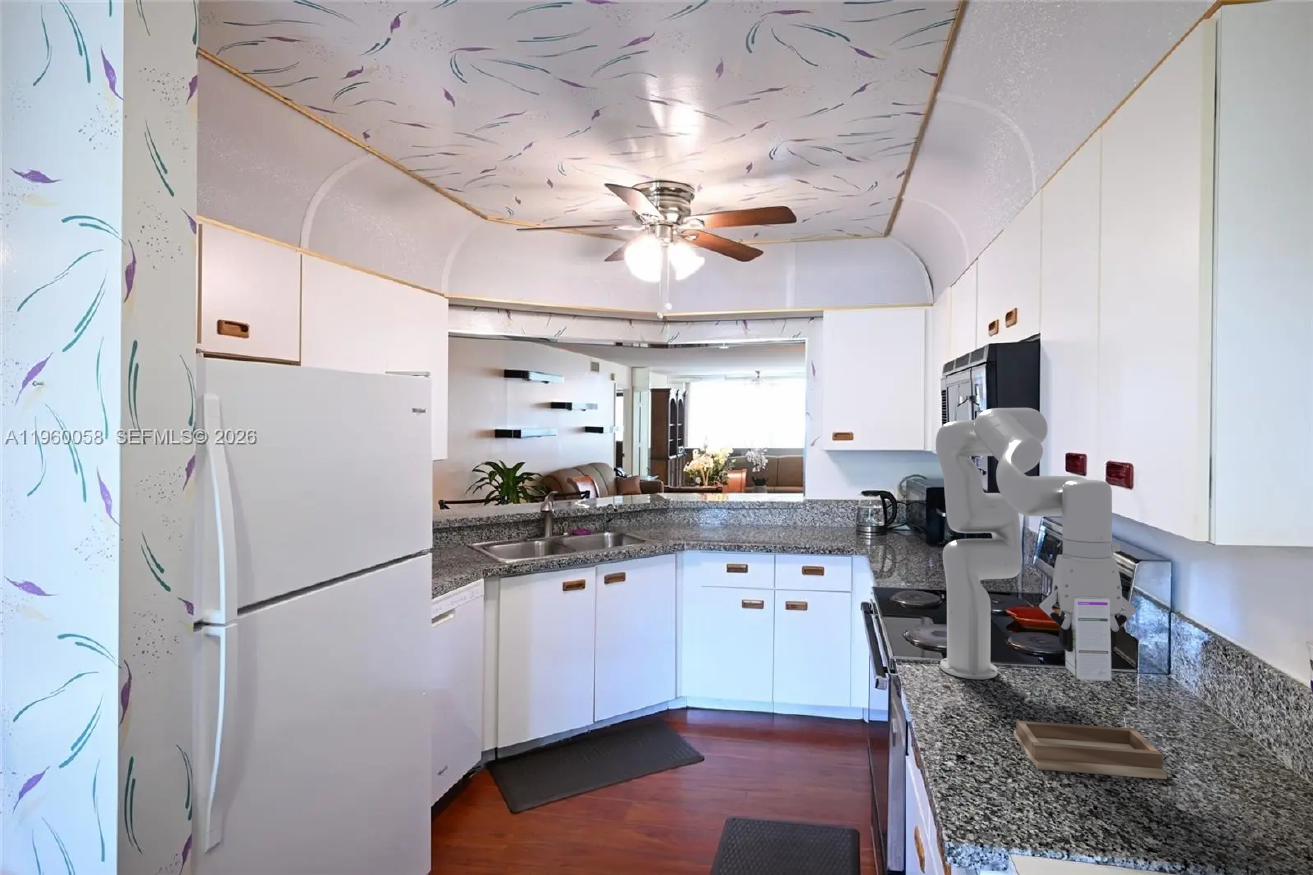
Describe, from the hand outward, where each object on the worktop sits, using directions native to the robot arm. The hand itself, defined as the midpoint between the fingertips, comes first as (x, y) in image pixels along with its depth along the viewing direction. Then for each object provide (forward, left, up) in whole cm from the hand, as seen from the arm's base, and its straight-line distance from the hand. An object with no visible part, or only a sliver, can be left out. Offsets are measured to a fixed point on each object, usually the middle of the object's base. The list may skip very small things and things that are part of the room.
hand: (1087, 649), depth 124 cm
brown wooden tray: (0, 0, -19) cm, 19 cm away
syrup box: (0, 0, -5) cm, 5 cm away
